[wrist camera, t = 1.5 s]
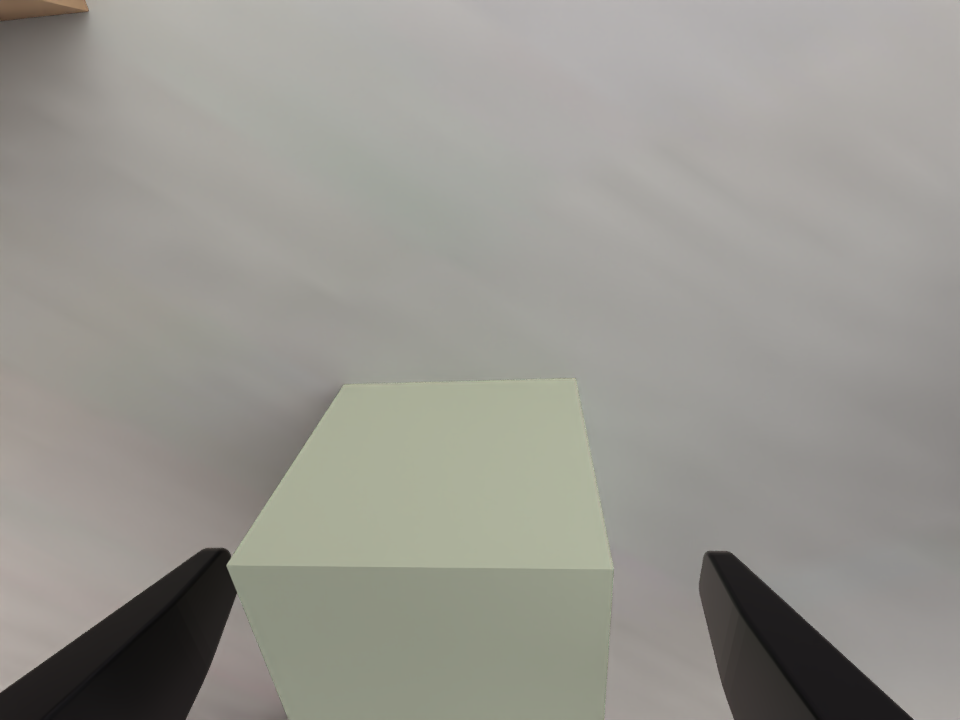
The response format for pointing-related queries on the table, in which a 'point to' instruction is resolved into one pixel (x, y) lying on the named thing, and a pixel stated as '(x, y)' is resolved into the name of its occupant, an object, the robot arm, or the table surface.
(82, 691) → the robot arm
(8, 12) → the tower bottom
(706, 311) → the table surface
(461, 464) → the cube
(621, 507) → the table surface
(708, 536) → the table surface
